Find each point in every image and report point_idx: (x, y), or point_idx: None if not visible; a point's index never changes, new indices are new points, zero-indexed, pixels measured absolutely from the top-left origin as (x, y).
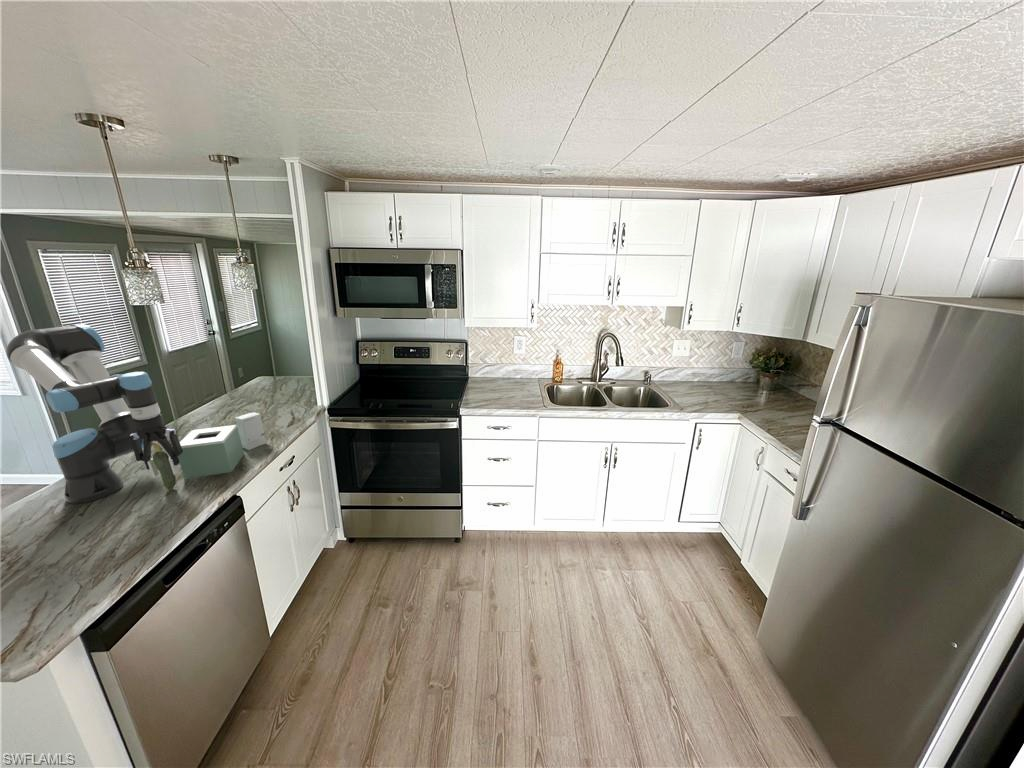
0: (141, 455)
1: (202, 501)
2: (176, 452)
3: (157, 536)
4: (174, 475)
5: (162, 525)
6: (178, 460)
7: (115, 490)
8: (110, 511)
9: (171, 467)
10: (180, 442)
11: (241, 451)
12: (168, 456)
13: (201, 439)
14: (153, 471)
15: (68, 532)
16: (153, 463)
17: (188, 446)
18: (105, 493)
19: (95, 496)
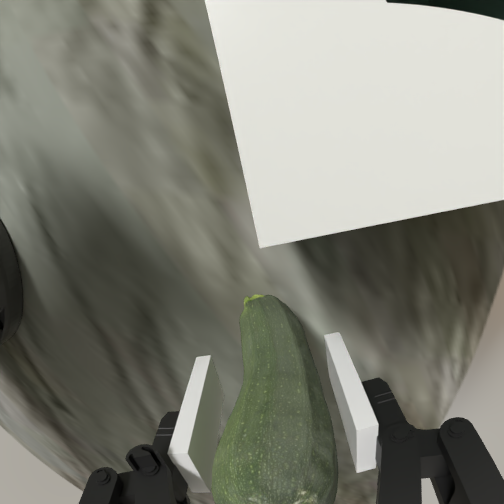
0: (107, 497)
1: (440, 388)
2: (444, 486)
3: (375, 496)
4: (305, 338)
5: (368, 476)
6: (392, 400)
7: (19, 284)
8: (131, 415)
9: (341, 416)
10: (245, 67)
11: None
12: (335, 453)
13: (500, 47)
14: (219, 424)
15: (120, 471)
16: (203, 442)
17: (436, 206)
18: (15, 318)
19: (8, 337)
